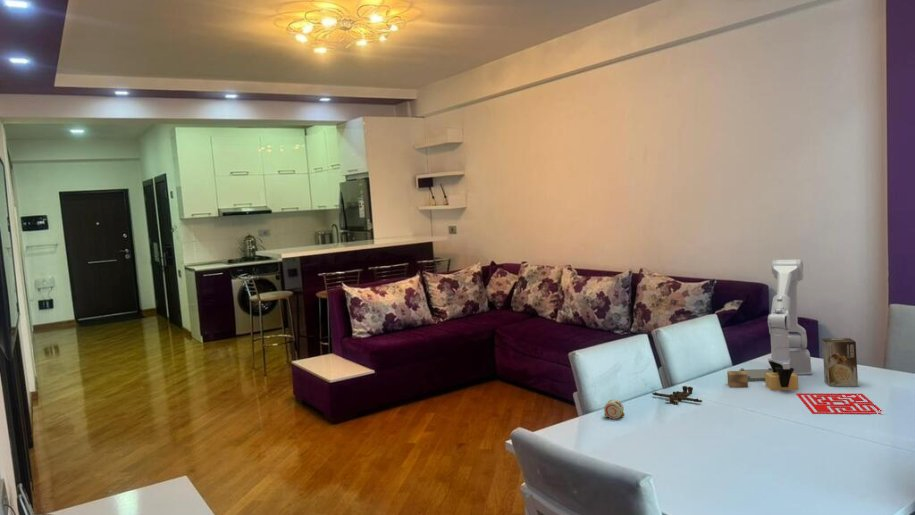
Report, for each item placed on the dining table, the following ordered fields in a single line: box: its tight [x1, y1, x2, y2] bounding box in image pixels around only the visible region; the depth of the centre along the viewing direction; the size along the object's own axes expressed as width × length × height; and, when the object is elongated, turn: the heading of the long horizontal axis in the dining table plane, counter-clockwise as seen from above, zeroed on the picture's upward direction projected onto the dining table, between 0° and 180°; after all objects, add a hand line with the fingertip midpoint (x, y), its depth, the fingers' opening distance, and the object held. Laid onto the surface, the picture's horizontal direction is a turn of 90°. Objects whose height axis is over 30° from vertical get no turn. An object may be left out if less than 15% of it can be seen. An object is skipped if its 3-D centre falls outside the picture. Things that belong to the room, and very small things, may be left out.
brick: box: [764, 372, 799, 391], centre depth 220 cm, size 9×6×5 cm, turn 82°
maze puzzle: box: [795, 392, 883, 415], centre depth 200 cm, size 20×20×1 cm
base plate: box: [738, 367, 773, 383], centre depth 235 cm, size 12×12×2 cm
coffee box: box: [821, 337, 859, 388], centre depth 218 cm, size 9×6×16 cm
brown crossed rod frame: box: [651, 385, 703, 405], centre depth 217 cm, size 18×4×14 cm
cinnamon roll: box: [603, 398, 625, 420], centre depth 204 cm, size 4×6×6 cm
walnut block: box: [726, 370, 749, 389], centre depth 226 cm, size 6×4×5 cm
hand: (781, 383), depth 220 cm, fingers open, 7 cm apart
